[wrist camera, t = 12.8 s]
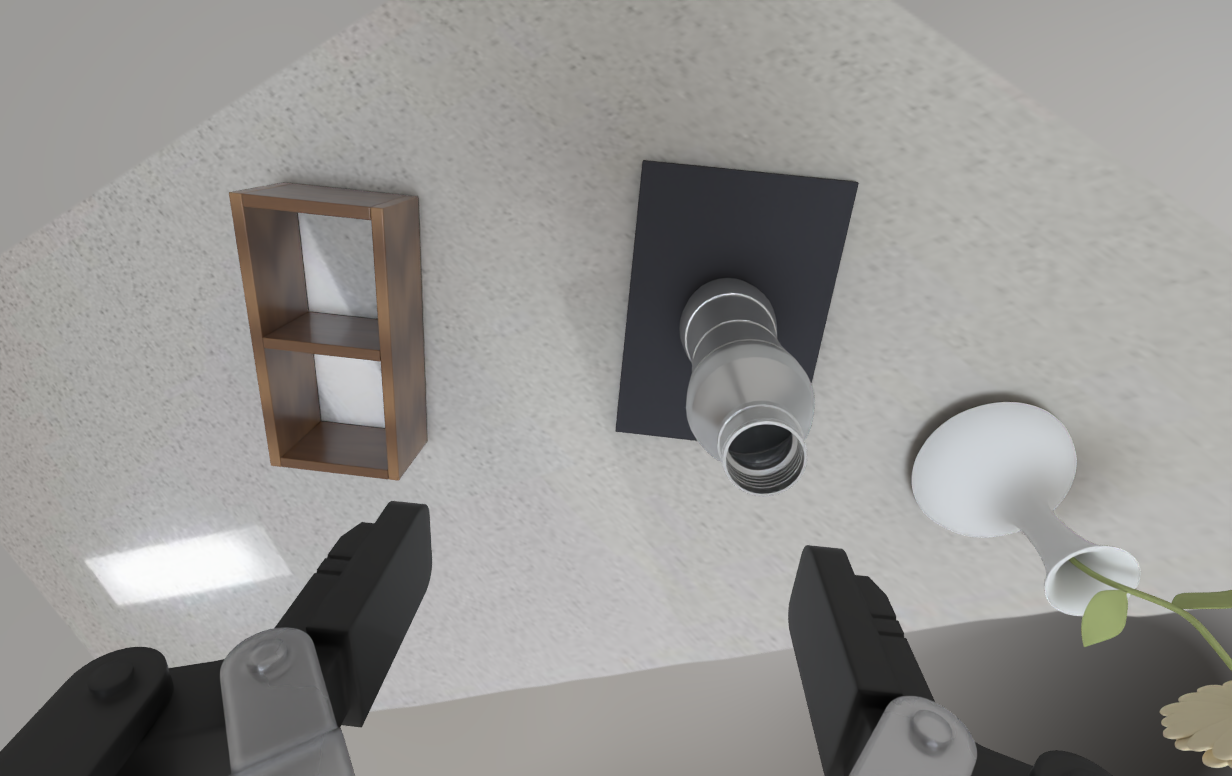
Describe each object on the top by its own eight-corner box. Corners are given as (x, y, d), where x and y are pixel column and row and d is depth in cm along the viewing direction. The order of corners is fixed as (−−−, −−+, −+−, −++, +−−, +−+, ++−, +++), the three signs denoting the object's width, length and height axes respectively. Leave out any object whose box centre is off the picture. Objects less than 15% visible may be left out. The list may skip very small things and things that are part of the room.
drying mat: (642, 160, 42) (642, 160, 41) (856, 181, 41) (859, 182, 41) (616, 428, 50) (615, 431, 49) (794, 448, 49) (795, 452, 49)
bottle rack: (283, 182, 44) (228, 192, 38) (418, 196, 44) (382, 208, 38) (312, 428, 52) (270, 465, 46) (427, 441, 51) (399, 480, 46)
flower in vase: (897, 523, 51) (1083, 854, 28) (912, 395, 47) (1148, 666, 24) (1067, 519, 50) (1406, 863, 27) (1100, 388, 45) (1540, 667, 23)
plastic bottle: (763, 261, 43) (835, 371, 25) (776, 352, 46) (851, 513, 27) (670, 281, 44) (673, 401, 26) (688, 369, 47) (703, 535, 28)
